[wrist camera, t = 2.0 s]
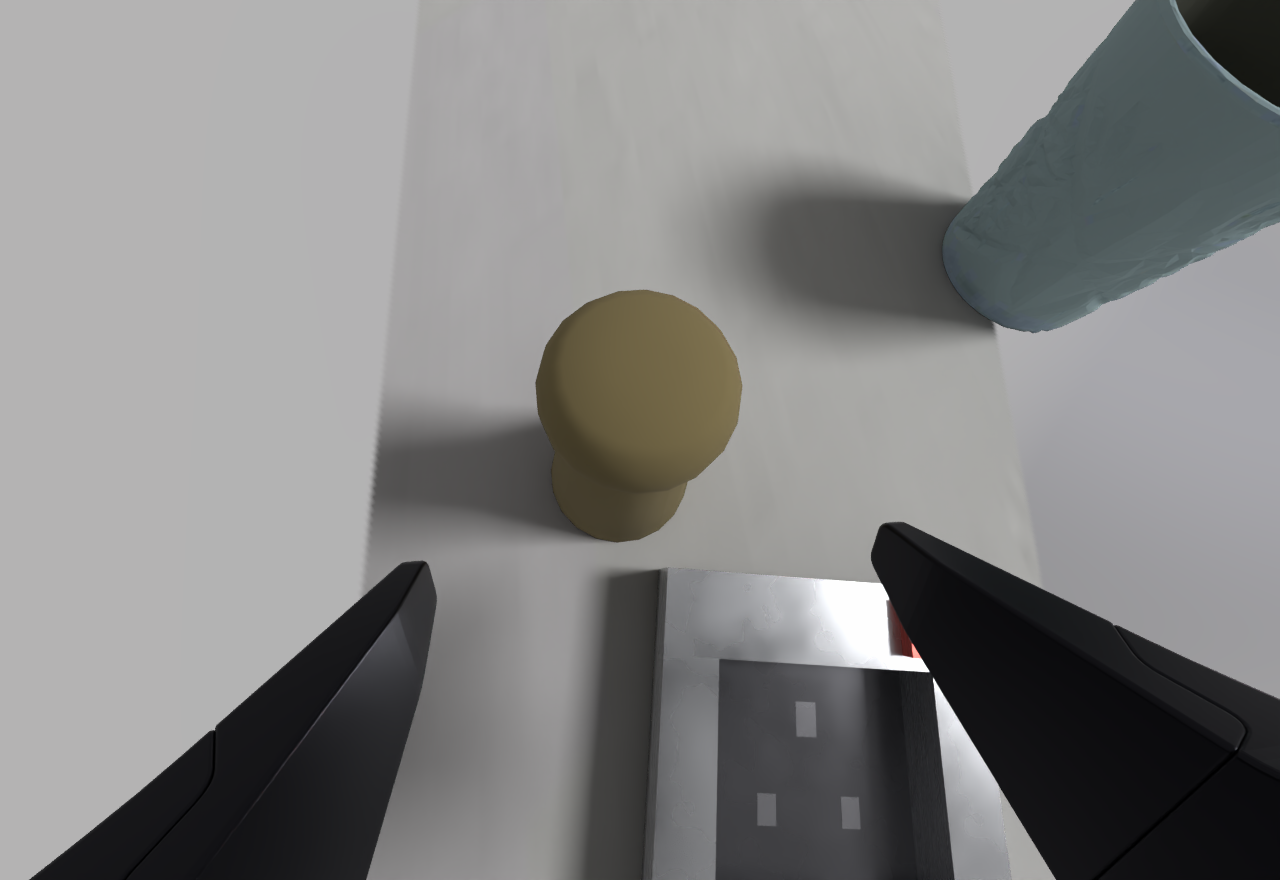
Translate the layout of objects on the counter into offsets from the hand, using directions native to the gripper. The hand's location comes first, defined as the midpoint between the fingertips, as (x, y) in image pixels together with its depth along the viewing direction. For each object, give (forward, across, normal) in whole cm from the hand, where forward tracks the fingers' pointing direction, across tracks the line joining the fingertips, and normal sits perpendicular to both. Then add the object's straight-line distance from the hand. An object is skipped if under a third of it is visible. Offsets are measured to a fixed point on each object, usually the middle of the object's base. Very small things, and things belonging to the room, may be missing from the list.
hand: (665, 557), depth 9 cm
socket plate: (+2, -6, +13) cm, 15 cm away
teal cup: (+18, -23, -2) cm, 29 cm away
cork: (+11, 0, +5) cm, 12 cm away
